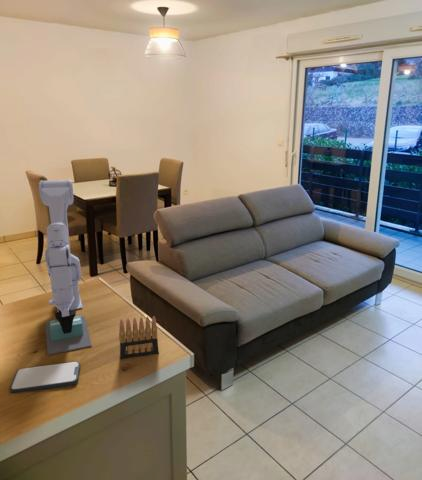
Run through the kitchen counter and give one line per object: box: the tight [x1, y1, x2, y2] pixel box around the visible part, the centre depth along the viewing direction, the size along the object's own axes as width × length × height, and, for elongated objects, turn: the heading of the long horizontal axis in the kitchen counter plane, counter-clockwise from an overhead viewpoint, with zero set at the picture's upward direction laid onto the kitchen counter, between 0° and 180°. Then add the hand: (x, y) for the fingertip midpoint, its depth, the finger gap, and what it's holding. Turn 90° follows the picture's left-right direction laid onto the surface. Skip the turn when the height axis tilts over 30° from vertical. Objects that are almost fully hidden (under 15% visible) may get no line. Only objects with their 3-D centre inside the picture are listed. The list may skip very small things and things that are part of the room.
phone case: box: [9, 361, 81, 394], centre depth 100 cm, size 9×2×16 cm
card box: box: [48, 315, 83, 341], centre depth 118 cm, size 9×5×4 cm, turn 113°
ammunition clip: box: [118, 315, 160, 360], centre depth 108 cm, size 11×2×12 cm, turn 105°
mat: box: [45, 315, 92, 356], centre depth 118 cm, size 18×12×1 cm, turn 24°
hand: (66, 326), depth 117 cm, fingers open, 7 cm apart
